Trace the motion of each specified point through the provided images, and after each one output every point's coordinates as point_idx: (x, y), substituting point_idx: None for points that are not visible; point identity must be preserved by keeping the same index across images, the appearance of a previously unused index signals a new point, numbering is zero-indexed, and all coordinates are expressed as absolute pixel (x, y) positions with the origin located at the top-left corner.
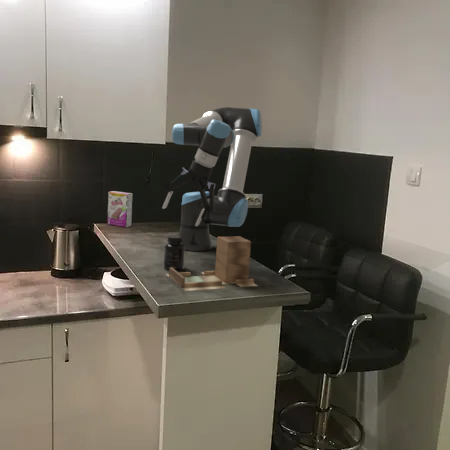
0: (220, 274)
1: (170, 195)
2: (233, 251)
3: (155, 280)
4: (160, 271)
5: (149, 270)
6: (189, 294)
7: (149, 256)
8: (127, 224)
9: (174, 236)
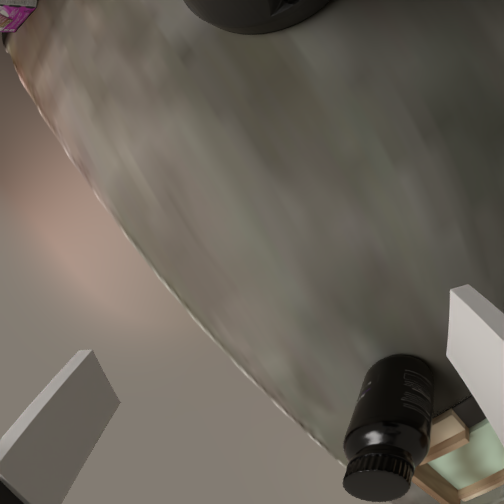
0: None
1: (41, 472)
2: None
3: None
4: None
5: (326, 400)
6: None
7: (224, 233)
8: (31, 3)
9: (372, 486)
